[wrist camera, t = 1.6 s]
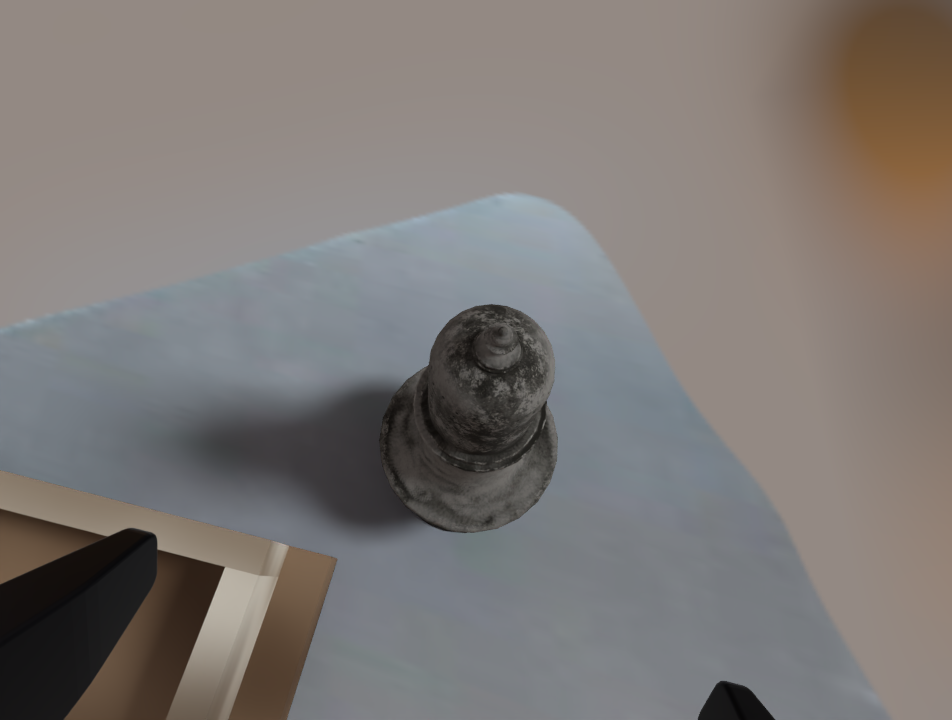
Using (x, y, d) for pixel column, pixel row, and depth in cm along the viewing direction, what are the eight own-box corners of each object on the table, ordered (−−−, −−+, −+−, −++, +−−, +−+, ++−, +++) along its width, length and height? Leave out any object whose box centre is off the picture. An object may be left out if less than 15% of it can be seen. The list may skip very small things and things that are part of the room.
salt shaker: (366, 520, 20) (298, 440, 9) (409, 374, 23) (395, 173, 12) (522, 558, 20) (638, 524, 9) (549, 409, 23) (668, 239, 12)
